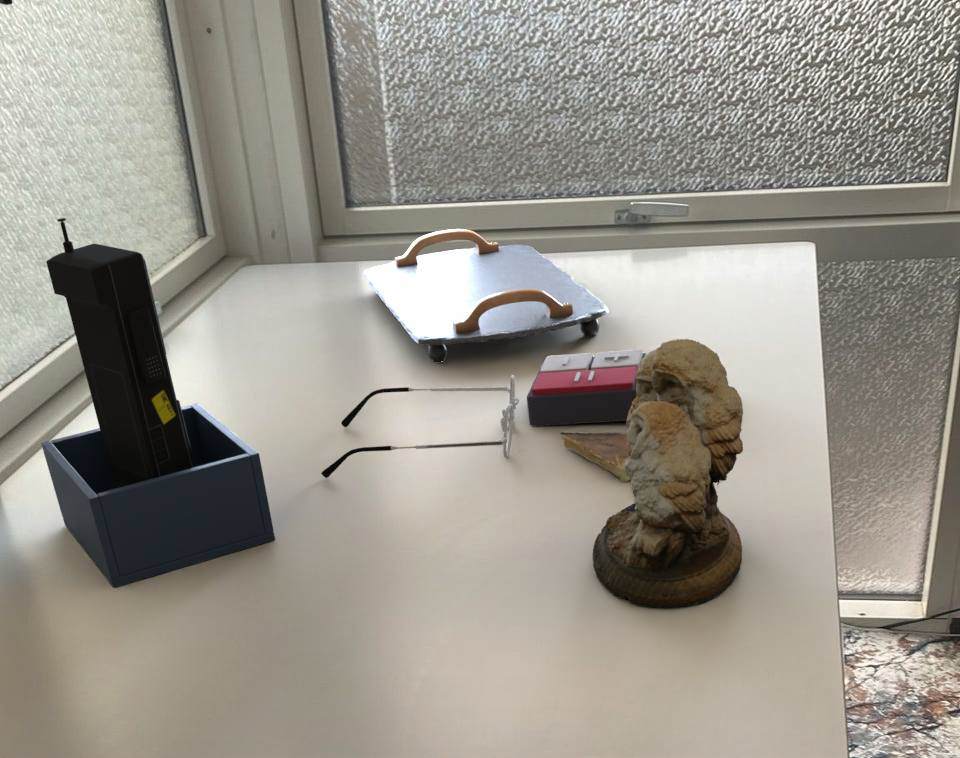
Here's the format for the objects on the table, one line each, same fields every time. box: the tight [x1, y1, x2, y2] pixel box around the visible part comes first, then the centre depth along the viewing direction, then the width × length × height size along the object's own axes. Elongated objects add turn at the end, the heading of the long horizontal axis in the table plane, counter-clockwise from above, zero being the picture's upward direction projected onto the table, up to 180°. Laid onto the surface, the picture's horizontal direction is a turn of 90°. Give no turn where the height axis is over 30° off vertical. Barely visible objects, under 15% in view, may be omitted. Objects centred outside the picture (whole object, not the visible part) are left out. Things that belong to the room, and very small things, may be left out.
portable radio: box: [45, 217, 196, 490], centre depth 111 cm, size 8×6×25 cm
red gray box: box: [526, 348, 654, 427], centre depth 133 cm, size 11×4×15 cm
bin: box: [40, 403, 276, 588], centre depth 116 cm, size 15×16×8 cm
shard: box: [559, 431, 631, 483], centre depth 124 cm, size 11×8×2 cm
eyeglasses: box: [320, 374, 520, 479], centre depth 128 cm, size 16×19×5 cm
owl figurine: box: [592, 338, 744, 609], centre depth 102 cm, size 18×12×17 cm, turn 176°
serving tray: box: [363, 228, 610, 363], centre depth 161 cm, size 39×23×6 cm, turn 15°
